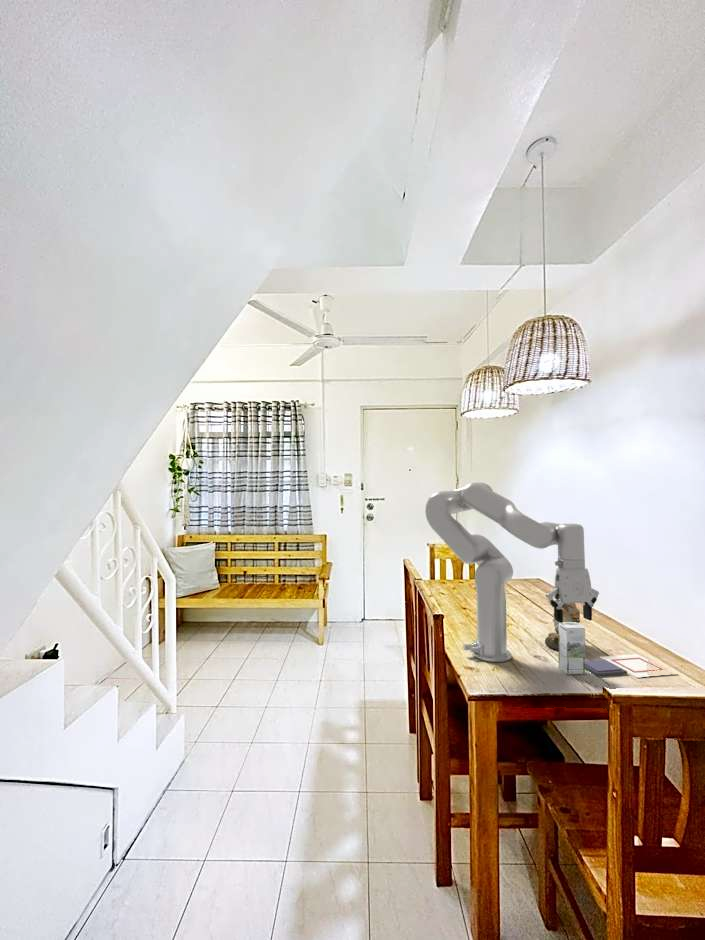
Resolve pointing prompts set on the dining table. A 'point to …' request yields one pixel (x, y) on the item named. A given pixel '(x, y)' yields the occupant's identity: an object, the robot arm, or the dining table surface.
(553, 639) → the tan lumpy figure
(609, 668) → the ink pad
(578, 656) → the syrup box
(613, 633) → the dining table surface
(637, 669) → the marked sheet
